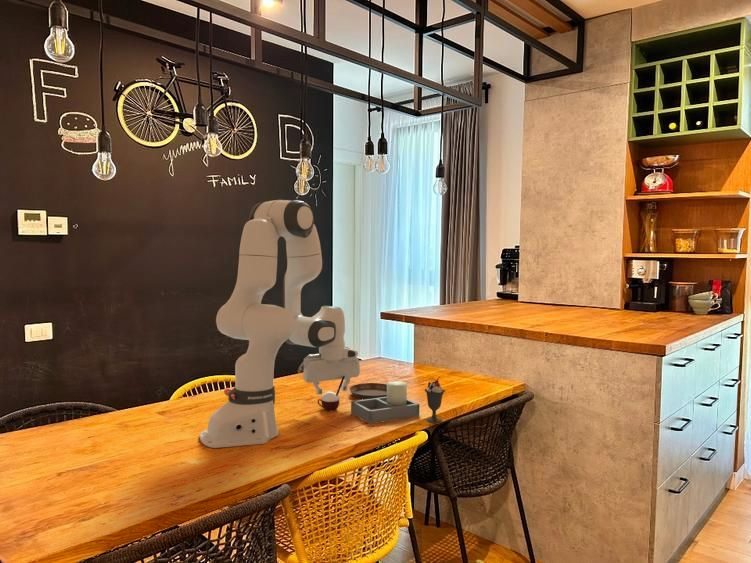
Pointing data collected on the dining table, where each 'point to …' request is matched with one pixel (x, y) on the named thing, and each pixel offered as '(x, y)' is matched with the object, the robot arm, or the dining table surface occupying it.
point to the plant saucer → (369, 390)
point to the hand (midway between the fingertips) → (331, 392)
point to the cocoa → (331, 399)
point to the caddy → (386, 405)
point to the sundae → (434, 399)
